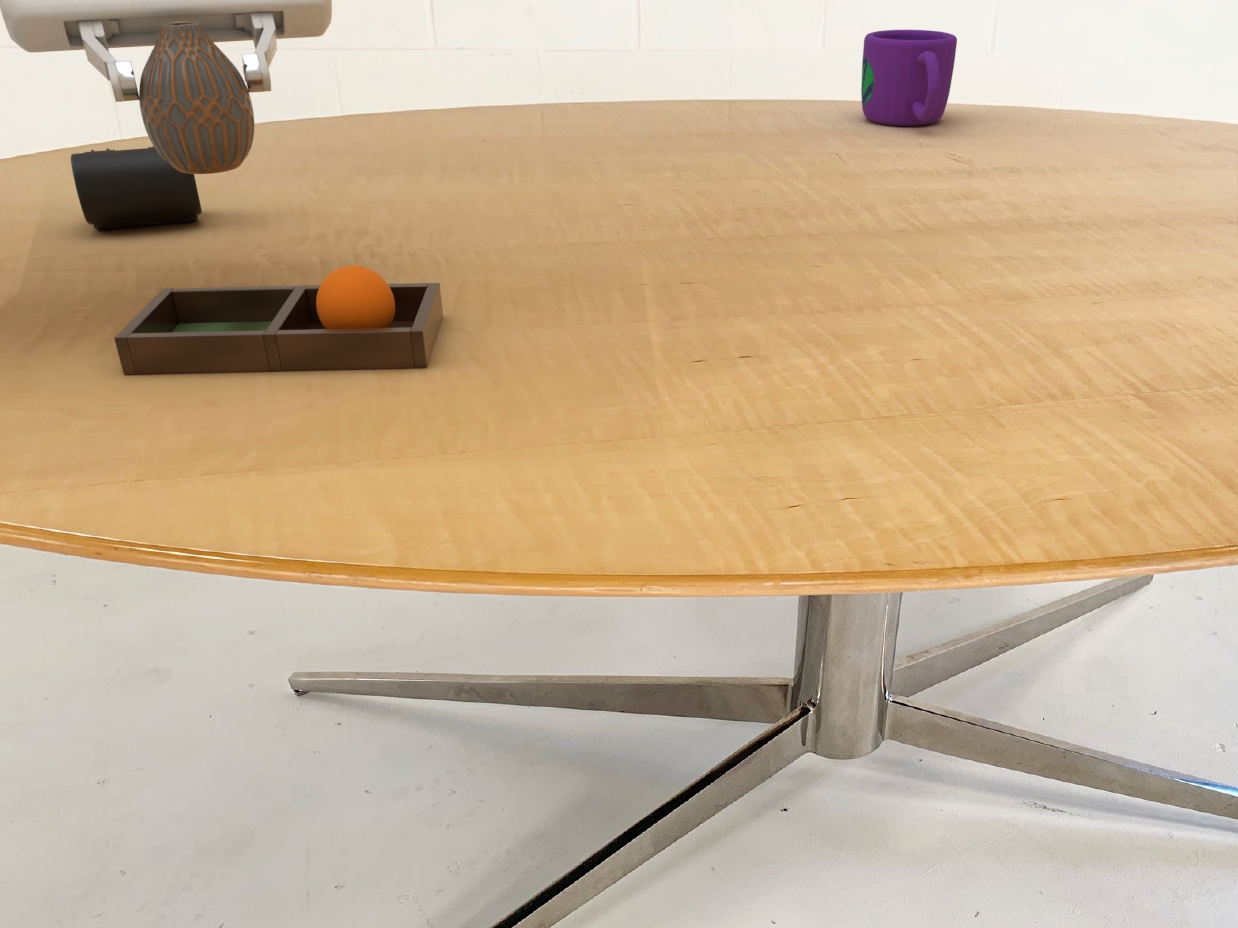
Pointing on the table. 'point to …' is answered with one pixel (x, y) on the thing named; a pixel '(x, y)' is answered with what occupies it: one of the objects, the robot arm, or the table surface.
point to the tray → (273, 332)
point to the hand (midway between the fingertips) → (193, 91)
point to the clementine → (355, 300)
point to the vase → (195, 102)
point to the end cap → (133, 189)
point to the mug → (907, 76)
